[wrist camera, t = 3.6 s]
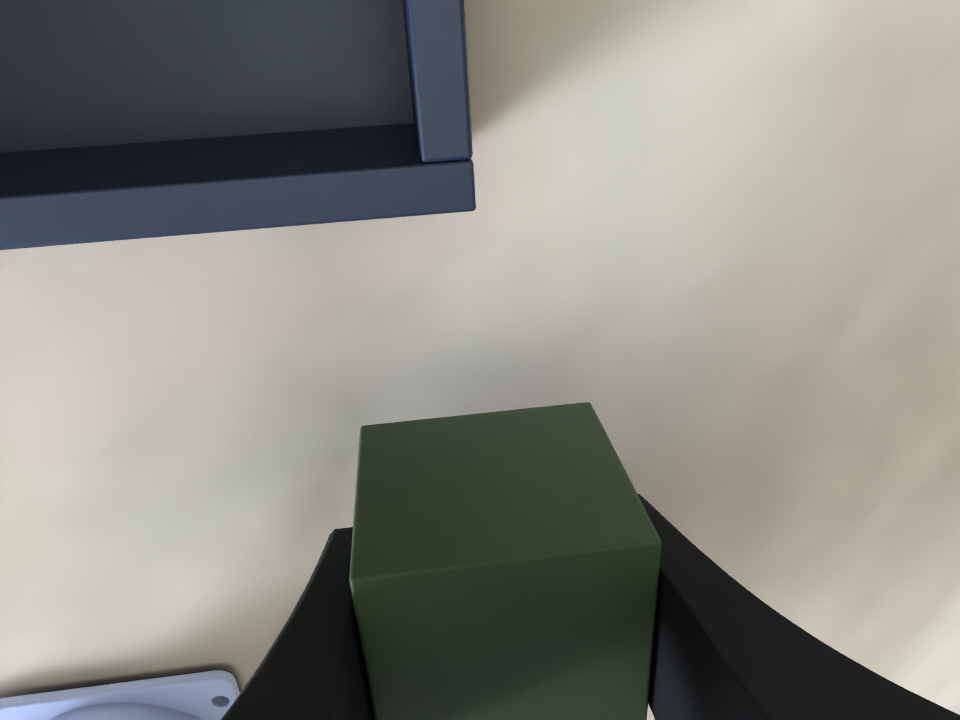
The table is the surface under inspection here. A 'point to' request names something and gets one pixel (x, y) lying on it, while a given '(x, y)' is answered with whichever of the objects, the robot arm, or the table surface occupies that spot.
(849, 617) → the table surface
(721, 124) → the table surface
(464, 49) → the dark blue open box
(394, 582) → the block
